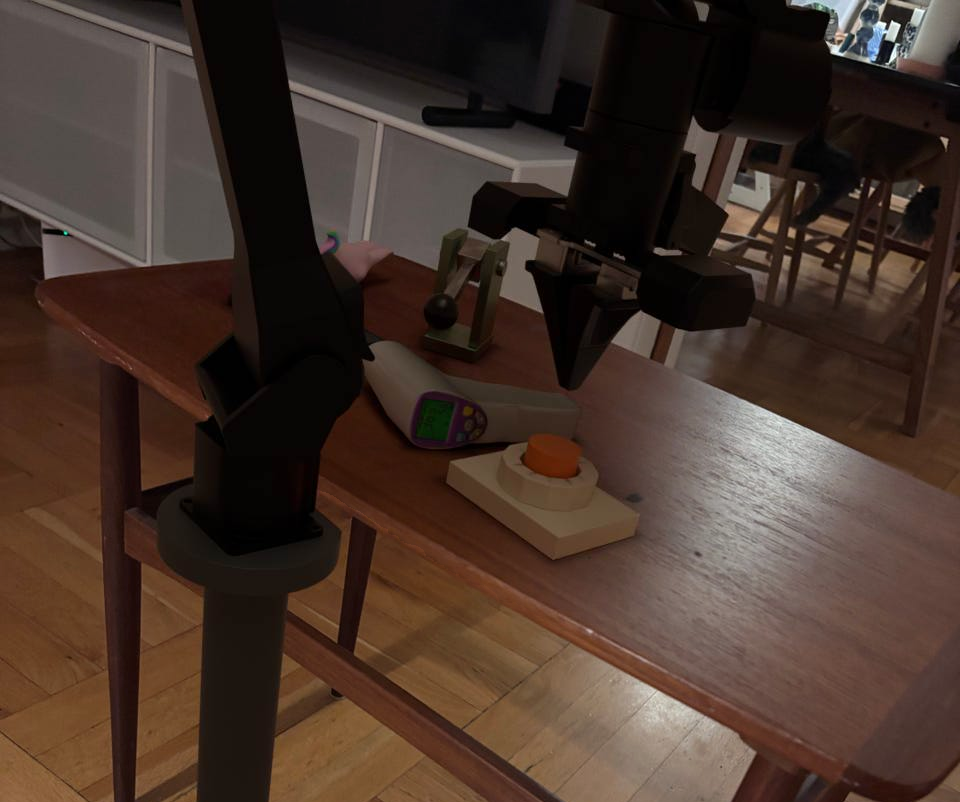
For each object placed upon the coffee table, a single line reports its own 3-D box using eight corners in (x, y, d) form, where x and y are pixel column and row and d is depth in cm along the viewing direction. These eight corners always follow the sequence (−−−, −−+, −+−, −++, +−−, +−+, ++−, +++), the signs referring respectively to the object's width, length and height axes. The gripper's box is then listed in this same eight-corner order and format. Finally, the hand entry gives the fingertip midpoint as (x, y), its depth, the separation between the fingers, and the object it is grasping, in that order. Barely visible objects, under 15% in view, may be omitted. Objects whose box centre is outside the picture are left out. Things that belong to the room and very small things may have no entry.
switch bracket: (478, 364, 89) (499, 254, 83) (417, 346, 90) (434, 236, 84) (496, 347, 94) (518, 242, 88) (438, 330, 94) (455, 224, 89)
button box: (552, 560, 62) (565, 512, 60) (445, 482, 68) (454, 436, 66) (633, 536, 67) (648, 491, 65) (526, 465, 73) (537, 422, 71)
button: (548, 485, 64) (554, 461, 63) (512, 460, 66) (517, 437, 65) (585, 476, 66) (592, 453, 65) (549, 453, 68) (555, 430, 67)
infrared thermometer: (576, 457, 78) (409, 453, 71) (505, 394, 86) (348, 384, 79) (594, 404, 76) (423, 393, 68) (519, 344, 84) (359, 329, 76)
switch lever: (450, 341, 83) (452, 312, 80) (417, 331, 83) (418, 302, 81) (493, 270, 89) (495, 240, 86) (462, 261, 89) (464, 232, 87)
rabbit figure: (313, 318, 94) (409, 275, 104) (311, 257, 90) (412, 218, 100) (265, 297, 96) (364, 257, 106) (262, 237, 92) (365, 200, 102)
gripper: (855, 172, 54) (755, 434, 62) (612, 93, 64) (556, 327, 73) (738, 164, 47) (644, 459, 56) (487, 76, 57) (441, 337, 66)
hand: (568, 388), depth 63 cm, fingers closed
